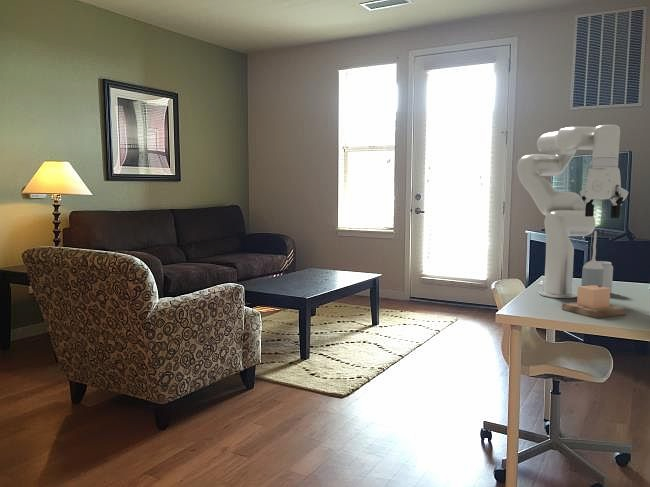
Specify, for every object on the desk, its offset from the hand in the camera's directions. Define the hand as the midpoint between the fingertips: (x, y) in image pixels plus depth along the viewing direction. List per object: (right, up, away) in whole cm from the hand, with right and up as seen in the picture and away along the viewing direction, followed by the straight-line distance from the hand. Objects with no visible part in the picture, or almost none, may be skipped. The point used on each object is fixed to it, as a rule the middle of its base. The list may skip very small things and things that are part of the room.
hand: (601, 217), depth 181 cm
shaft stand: (-4, -31, -2) cm, 31 cm away
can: (+15, -28, +32) cm, 45 cm away
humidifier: (+3, -29, +13) cm, 32 cm away
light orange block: (-4, -29, -2) cm, 29 cm away
